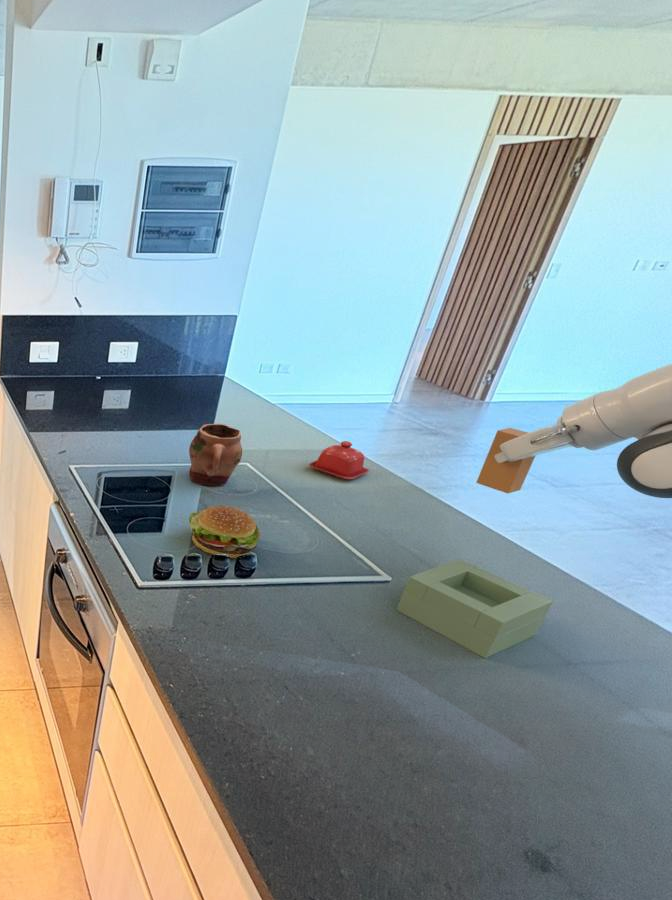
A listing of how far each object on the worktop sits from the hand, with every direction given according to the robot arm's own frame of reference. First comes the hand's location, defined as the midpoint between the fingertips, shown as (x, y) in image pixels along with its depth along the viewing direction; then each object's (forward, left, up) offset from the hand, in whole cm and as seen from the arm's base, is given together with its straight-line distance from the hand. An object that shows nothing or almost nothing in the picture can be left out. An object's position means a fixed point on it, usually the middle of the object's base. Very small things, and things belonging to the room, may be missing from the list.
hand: (506, 456), depth 119 cm
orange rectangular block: (-1, 0, -6) cm, 6 cm away
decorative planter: (+47, +25, -20) cm, 57 cm away
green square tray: (-15, +29, -20) cm, 38 cm away
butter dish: (+38, -11, -20) cm, 44 cm away
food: (+22, +47, -20) cm, 55 cm away
